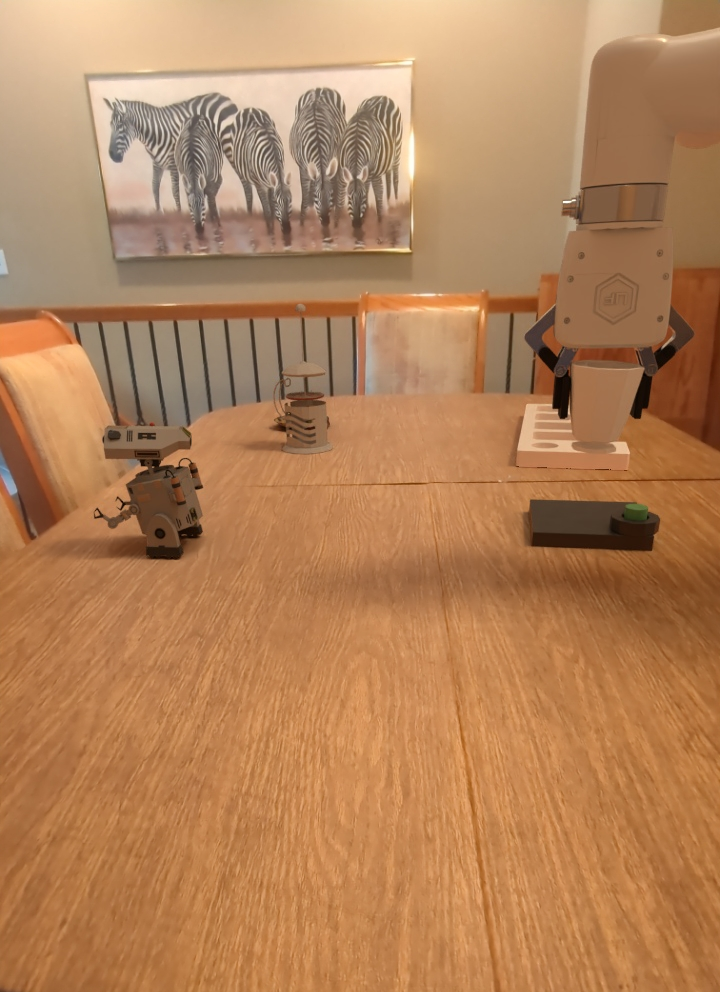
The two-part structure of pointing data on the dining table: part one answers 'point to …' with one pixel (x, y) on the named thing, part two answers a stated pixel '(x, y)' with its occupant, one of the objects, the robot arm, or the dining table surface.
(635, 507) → the scale button
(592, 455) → the holder
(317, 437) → the french press
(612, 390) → the cup
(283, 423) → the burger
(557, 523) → the scale
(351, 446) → the dining table surface
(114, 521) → the figurine
